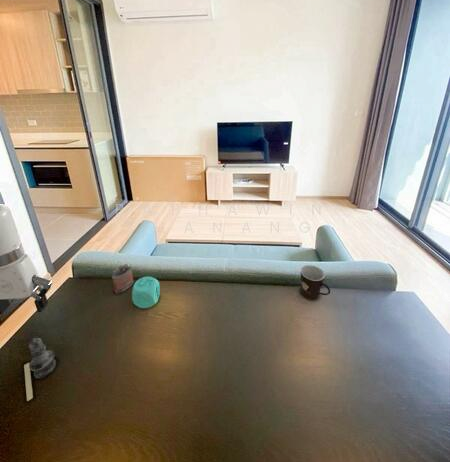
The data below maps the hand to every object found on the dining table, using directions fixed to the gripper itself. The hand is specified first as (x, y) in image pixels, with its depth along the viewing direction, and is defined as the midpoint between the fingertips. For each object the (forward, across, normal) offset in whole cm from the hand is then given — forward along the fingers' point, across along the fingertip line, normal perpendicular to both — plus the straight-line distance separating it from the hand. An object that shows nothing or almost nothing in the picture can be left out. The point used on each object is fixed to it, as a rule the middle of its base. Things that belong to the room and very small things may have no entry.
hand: (24, 309), depth 64 cm
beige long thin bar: (+21, -2, -5) cm, 22 cm away
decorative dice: (+21, +25, +22) cm, 39 cm away
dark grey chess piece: (+21, +1, -2) cm, 21 cm away
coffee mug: (+20, +88, +18) cm, 92 cm away
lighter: (+21, +14, +30) cm, 39 cm away
